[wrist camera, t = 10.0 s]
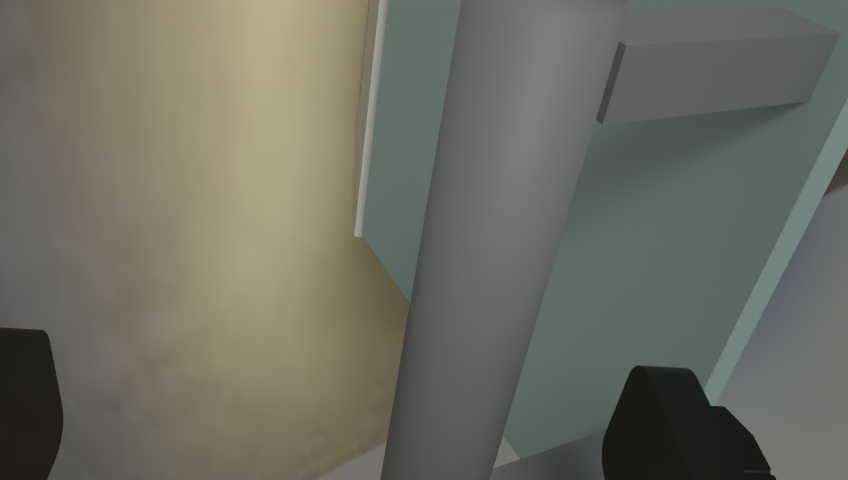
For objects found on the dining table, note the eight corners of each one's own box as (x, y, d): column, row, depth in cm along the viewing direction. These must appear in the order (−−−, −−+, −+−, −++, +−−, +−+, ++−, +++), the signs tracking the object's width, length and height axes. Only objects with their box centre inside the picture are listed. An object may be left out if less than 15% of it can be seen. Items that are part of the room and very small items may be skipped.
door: (441, -271, 19) (181, -313, 16) (1006, -162, 9) (585, -222, 6) (376, 232, 27) (200, 262, 24) (629, 573, 17) (381, 688, 14)
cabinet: (399, -300, 25) (412, -302, 18) (844, -223, 27) (996, -200, 21) (355, 134, 34) (354, 236, 27) (692, 166, 36) (765, 268, 30)
